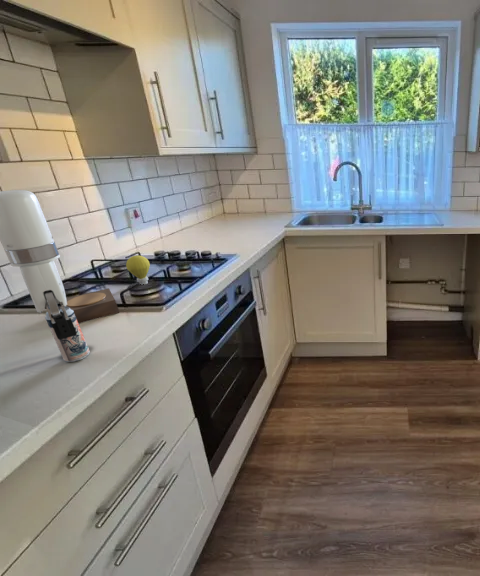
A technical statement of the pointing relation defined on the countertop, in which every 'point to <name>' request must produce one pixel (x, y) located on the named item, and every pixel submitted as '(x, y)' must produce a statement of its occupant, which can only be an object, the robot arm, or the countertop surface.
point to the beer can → (70, 340)
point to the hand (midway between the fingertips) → (66, 331)
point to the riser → (93, 305)
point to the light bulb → (138, 268)
